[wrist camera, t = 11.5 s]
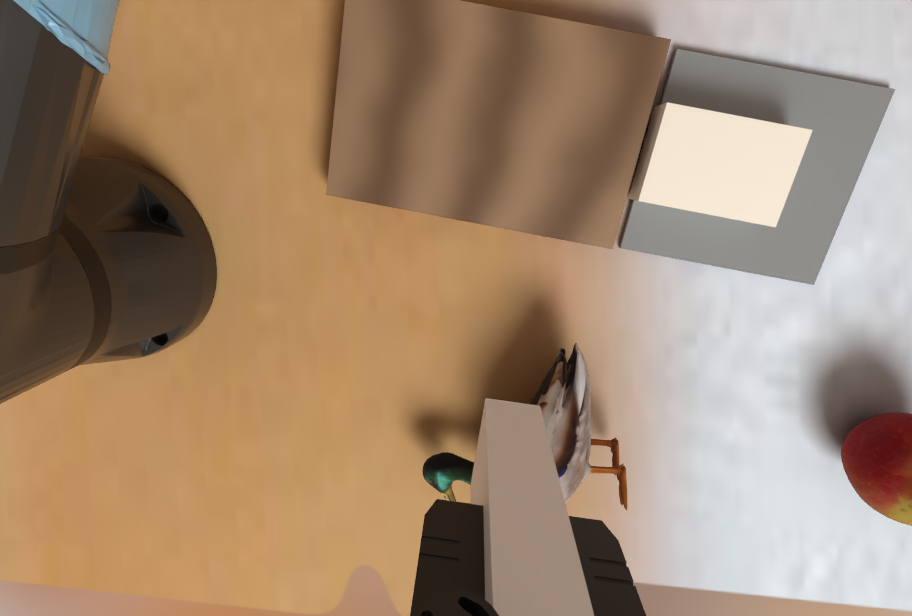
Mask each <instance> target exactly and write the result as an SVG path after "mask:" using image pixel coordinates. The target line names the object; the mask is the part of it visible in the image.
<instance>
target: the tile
mask: <svg viewBox="0 0 912 616" xmlns="http://www.w3.org/2000/svg"><path fill="white" fill-rule="evenodd" d="M812 131H813V130H810V129H805V128H800V127H794V126H789V125H784V124H778V123H773V122H768V121H763V120H757V119H752V118H747V117H742V116H736V115H731V114H726V113H721V112H715V111H710V110H705V109H700V108H694V107H689V106H684V105H679V104H673V103H668V102H667V103H664V104H661V105H658V106H655V107H654V109H653V112H652V116H651V119H650V123H649V127H648V130H647V134H646V137H645V141H644V144H643V148H642V151H641V155H640V158H639V162H638V165H637V169H636V172H635V176H634V179H633V183H632V186H631V190H630V193H629V197H628V199H632V200H636V201H641V202H646V203H651V204H656V205H662V206H667V207H672V208H677V209H682V210H688V211H693V212H698V213H703V214H708V215H714V216H719V217H724V218H729V219H734V220H740V221H745V222H750V223H755V224H761V225H766V226H771V227H776V225H777V223H778V220H779V217H780V215H781V212H782V210H783V207H784V204H785V202H786V199H787V196H788V194H789V191H790V189H791V186H792V183H793V181H794V178H795V175H796V173H797V170H798V168H799V165H800V162H801V160H802V157H803V154H804V152H805V149H806V146H807V144H808V141H809V139H810V136H811V133H812Z"/></svg>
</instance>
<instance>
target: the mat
mask: <svg viewBox="0 0 912 616" xmlns="http://www.w3.org/2000/svg"><path fill="white" fill-rule="evenodd" d="M894 91H895V89H891V88H886V87H880V86H875V85H870V84H864V83H859V82H854V81H848V80H843V79H837V78H832V77H827V76H821V75H816V74H811V73H805V72H800V71H794V70H789V69H784V68H778V67H773V66H768V65H762V64H757V63H751V62H746V61H741V60H735V59H730V58H725V57H719V56H714V55H708V54H703V53H698V52H692V51H687V50H682V49H676V50H675V52H674V55H673V59H672V62H671V66H670V69H669V73H668V76H667V80H666V83H665V87H664V91H663V94H662V98H661V101H660V105H661V104H664V103H667V102H668V103H673V104H679V105H684V106H689V107H694V108H700V109H705V110H710V111H715V112H721V113H726V114H731V115H736V116H742V117H747V118H752V119H757V120H763V121H768V122H773V123H778V124H784V125H789V126H794V127H800V128H805V129H810V130H813V131H812V133H811V136H810V139H809V141H808V144H807V146H806V149H805V152H804V154H803V157H802V160H801V162H800V165H799V168H798V170H797V173H796V175H795V178H794V181H793V183H792V186H791V189H790V191H789V194H788V196H787V199H786V202H785V204H784V207H783V210H782V212H781V215H780V217H779V220H778V223H777V225H776V227H771V226H766V225H761V224H755V223H750V222H745V221H740V220H734V219H729V218H724V217H719V216H714V215H708V214H703V213H698V212H693V211H688V210H682V209H677V208H672V207H667V206H662V205H656V204H651V203H646V202H641V201H636V200H632V203H631V207H630V210H629V214H628V217H627V221H626V224H625V228H624V231H623V235H622V238H621V242H620V245H619V247H620V248H623V249H628V250H633V251H639V252H644V253H649V254H654V255H660V256H665V257H670V258H675V259H681V260H686V261H691V262H696V263H702V264H707V265H712V266H718V267H723V268H728V269H733V270H739V271H744V272H749V273H754V274H760V275H765V276H770V277H775V278H781V279H786V280H791V281H796V282H802V283H807V284H812V285H814V283H815V281H816V278H817V276H818V273H819V271H820V269H821V266H822V264H823V261H824V259H825V257H826V254H827V252H828V249H829V247H830V245H831V242H832V240H833V237H834V235H835V232H836V230H837V228H838V225H839V223H840V220H841V218H842V216H843V213H844V211H845V208H846V206H847V204H848V201H849V199H850V196H851V194H852V192H853V189H854V187H855V184H856V182H857V180H858V177H859V175H860V172H861V170H862V168H863V165H864V163H865V160H866V158H867V156H868V153H869V151H870V148H871V146H872V144H873V141H874V139H875V136H876V134H877V132H878V129H879V127H880V124H881V122H882V119H883V117H884V115H885V112H886V110H887V107H888V105H889V103H890V100H891V98H892V95H893V93H894Z"/></svg>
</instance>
